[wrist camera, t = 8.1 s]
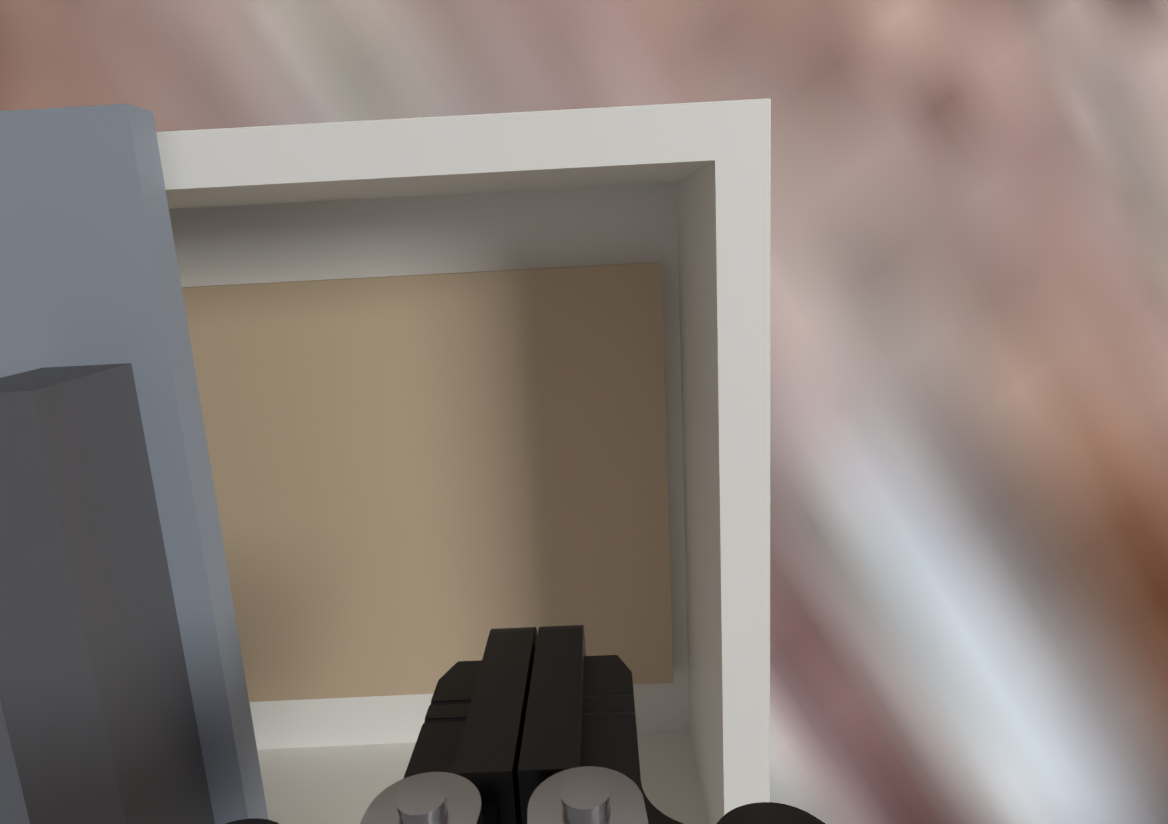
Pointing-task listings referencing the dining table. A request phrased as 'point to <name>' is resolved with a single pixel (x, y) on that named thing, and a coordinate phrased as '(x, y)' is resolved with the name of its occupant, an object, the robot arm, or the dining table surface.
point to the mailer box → (487, 423)
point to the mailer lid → (107, 498)
